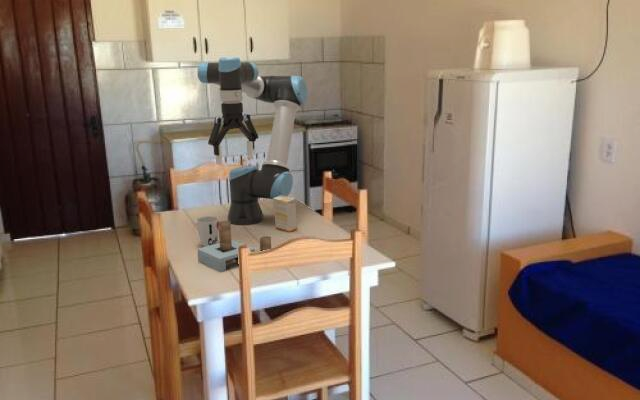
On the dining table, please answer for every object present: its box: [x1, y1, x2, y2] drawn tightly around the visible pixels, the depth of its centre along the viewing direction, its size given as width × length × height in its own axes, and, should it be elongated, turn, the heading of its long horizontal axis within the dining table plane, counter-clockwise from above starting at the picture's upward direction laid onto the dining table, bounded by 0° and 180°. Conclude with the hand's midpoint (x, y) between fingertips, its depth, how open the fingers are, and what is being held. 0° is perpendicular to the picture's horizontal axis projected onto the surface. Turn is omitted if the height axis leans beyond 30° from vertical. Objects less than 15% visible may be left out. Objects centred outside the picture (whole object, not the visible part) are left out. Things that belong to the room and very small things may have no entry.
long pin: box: [218, 220, 234, 264], centre depth 191 cm, size 4×4×14 cm
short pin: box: [259, 235, 272, 252], centre depth 198 cm, size 4×4×6 cm
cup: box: [195, 216, 220, 247], centre depth 208 cm, size 8×8×10 cm
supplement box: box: [272, 195, 298, 233], centre depth 225 cm, size 8×5×13 cm, turn 48°
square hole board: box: [196, 239, 256, 273], centre depth 192 cm, size 14×14×4 cm
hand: (235, 161), depth 202 cm, fingers open, 13 cm apart
